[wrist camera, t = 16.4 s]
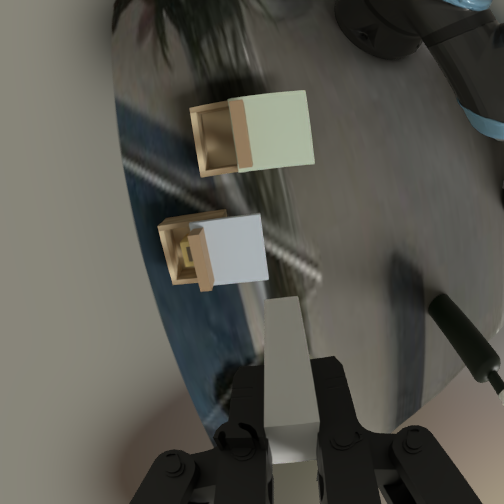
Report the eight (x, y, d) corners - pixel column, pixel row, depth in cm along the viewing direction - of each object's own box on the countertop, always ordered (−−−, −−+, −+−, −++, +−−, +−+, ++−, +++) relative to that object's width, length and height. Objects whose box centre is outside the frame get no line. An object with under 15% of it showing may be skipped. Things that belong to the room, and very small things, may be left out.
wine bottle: (431, 296, 49) (508, 401, 22) (451, 292, 49) (530, 387, 21) (426, 318, 51) (492, 423, 24) (446, 314, 51) (514, 410, 23)
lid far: (190, 222, 40) (183, 230, 36) (260, 212, 39) (259, 220, 36) (204, 283, 44) (199, 296, 40) (268, 277, 43) (268, 289, 39)
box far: (166, 217, 45) (157, 226, 41) (225, 209, 44) (222, 216, 40) (179, 272, 49) (173, 284, 45) (235, 266, 48) (233, 279, 44)
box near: (196, 110, 38) (189, 108, 34) (263, 99, 37) (263, 95, 33) (206, 173, 42) (200, 177, 38) (272, 164, 41) (273, 167, 37)
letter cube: (186, 233, 45) (179, 242, 42) (210, 230, 45) (205, 239, 41) (191, 256, 47) (185, 267, 43) (214, 253, 46) (210, 264, 43)
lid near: (228, 99, 33) (224, 95, 30) (304, 91, 32) (308, 86, 29) (239, 171, 37) (236, 175, 33) (313, 163, 36) (319, 166, 33)
